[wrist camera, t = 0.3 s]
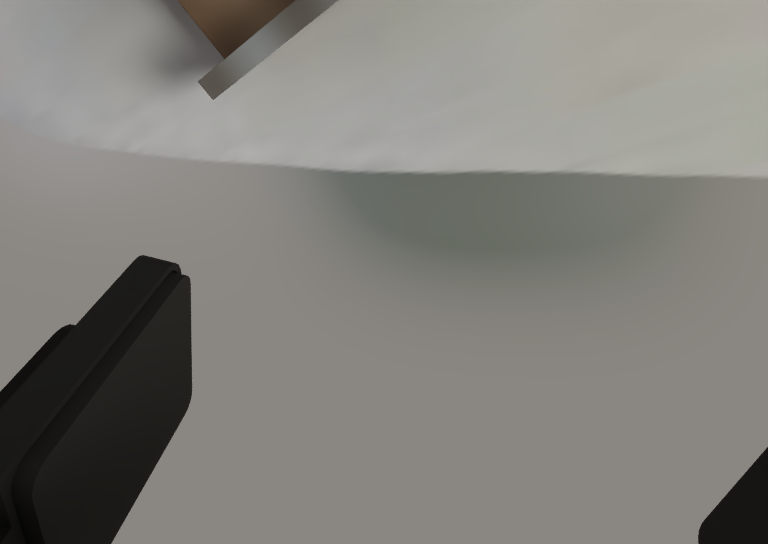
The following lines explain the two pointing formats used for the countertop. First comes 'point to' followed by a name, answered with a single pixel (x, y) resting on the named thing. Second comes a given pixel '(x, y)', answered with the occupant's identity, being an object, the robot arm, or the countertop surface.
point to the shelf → (248, 32)
